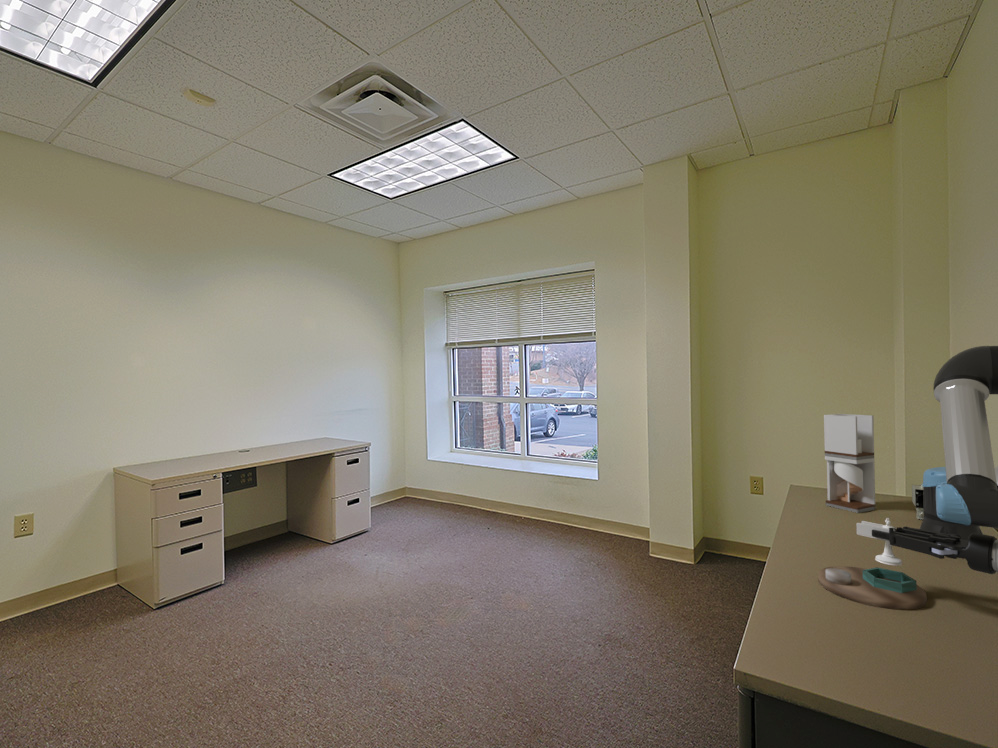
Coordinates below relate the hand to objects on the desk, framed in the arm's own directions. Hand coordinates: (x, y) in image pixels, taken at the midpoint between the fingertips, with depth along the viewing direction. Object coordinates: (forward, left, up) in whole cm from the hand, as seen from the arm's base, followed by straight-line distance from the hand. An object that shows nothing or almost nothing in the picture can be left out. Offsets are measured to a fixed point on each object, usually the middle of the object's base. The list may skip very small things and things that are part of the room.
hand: (859, 527), depth 117 cm
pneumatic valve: (-49, -61, -13) cm, 80 cm away
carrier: (0, +4, -13) cm, 14 cm away
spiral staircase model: (-32, -74, -13) cm, 82 cm away
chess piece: (-4, +4, -7) cm, 9 cm away
